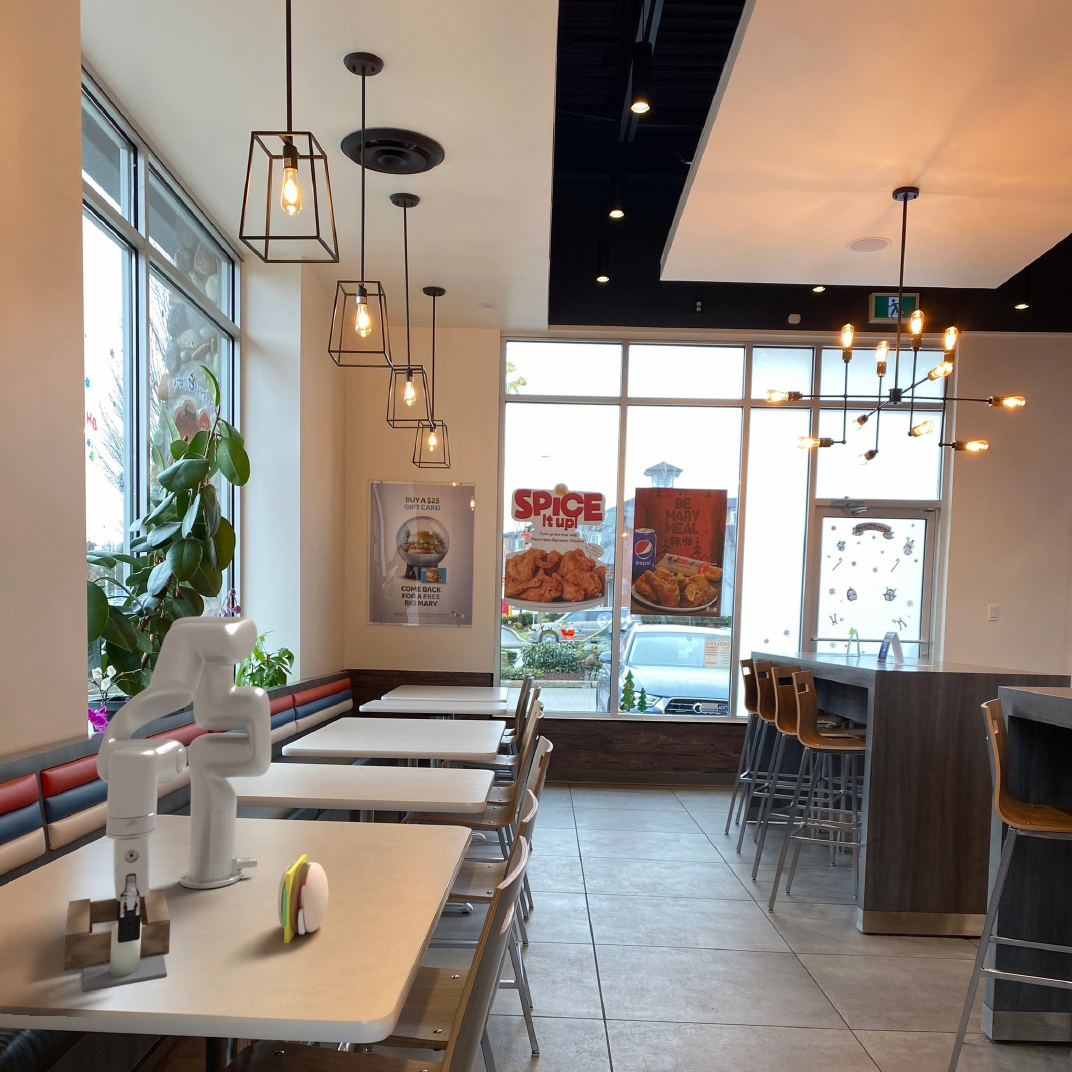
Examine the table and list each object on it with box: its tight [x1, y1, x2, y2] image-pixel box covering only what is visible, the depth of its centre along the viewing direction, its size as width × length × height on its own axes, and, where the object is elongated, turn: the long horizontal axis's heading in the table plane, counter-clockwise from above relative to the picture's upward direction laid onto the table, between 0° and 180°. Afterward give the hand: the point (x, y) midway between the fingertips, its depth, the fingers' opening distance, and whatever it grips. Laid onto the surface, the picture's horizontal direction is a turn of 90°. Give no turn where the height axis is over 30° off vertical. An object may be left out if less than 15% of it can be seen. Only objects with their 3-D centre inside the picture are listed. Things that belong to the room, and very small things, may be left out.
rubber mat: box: [82, 954, 168, 992], centre depth 138 cm, size 12×8×1 cm, turn 117°
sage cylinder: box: [109, 922, 142, 976], centre depth 138 cm, size 4×4×7 cm
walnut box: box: [63, 888, 171, 971], centre depth 151 cm, size 16×18×6 cm
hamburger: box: [277, 854, 329, 944], centre depth 157 cm, size 12×8×12 cm
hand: (127, 929), depth 139 cm, fingers open, 9 cm apart
